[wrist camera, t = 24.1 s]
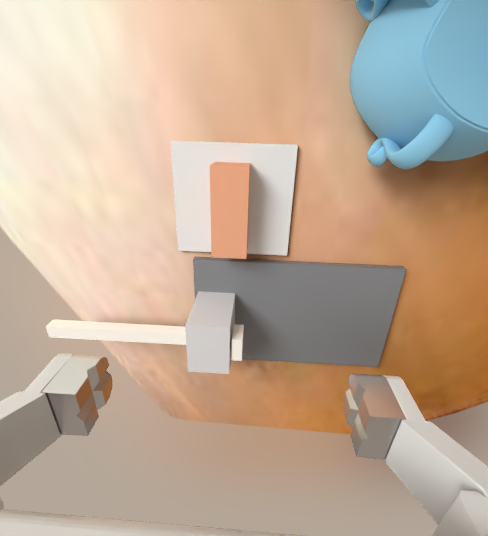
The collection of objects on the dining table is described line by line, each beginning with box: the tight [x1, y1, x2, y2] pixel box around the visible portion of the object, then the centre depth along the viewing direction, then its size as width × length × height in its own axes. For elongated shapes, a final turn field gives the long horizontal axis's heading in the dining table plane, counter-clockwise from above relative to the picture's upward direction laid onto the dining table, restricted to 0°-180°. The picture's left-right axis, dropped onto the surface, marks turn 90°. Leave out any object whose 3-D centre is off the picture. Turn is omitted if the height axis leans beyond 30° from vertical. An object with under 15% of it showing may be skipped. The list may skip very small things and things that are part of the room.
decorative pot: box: [350, 0, 488, 169], centre depth 23 cm, size 16×16×14 cm
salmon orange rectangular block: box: [210, 162, 251, 259], centre depth 33 cm, size 10×4×4 cm, turn 178°
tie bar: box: [46, 320, 244, 361], centre depth 36 cm, size 3×24×3 cm, turn 88°
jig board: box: [185, 257, 406, 374], centre depth 38 cm, size 16×27×9 cm, turn 88°
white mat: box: [170, 141, 298, 256], centre depth 35 cm, size 13×14×1 cm
